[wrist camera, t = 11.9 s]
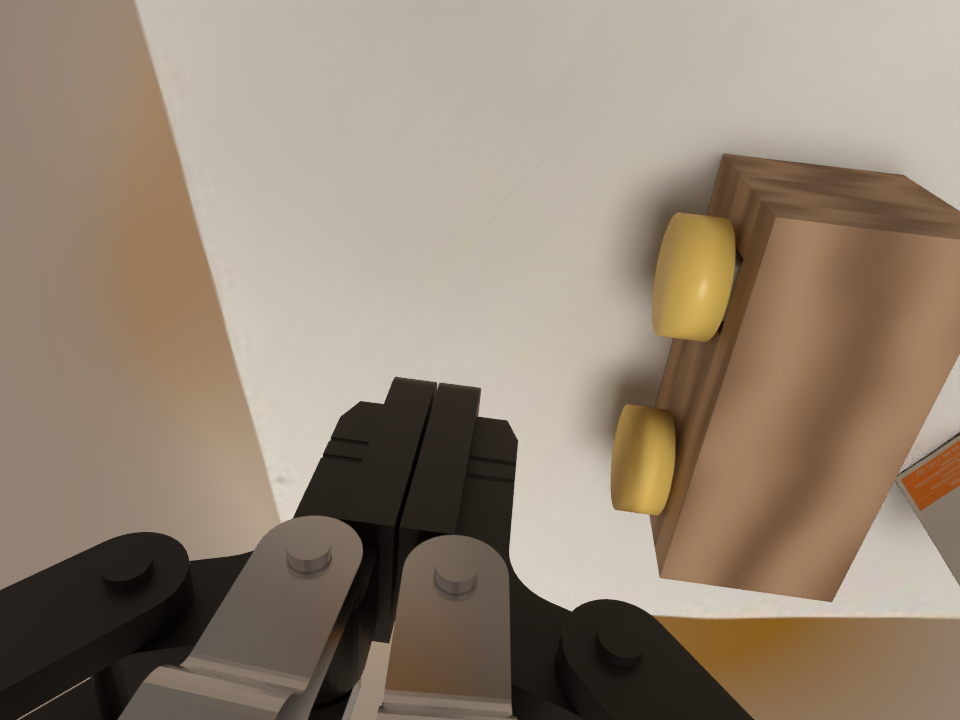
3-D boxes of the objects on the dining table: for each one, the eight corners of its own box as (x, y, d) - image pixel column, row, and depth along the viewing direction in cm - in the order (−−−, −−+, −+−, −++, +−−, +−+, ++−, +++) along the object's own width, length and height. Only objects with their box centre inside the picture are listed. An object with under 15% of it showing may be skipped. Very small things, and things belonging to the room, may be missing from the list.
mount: (600, 455, 51) (610, 571, 41) (671, 147, 39) (707, 208, 30) (780, 479, 50) (831, 602, 41) (903, 175, 39) (1014, 246, 29)
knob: (647, 303, 41) (661, 358, 35) (673, 196, 37) (692, 238, 32) (906, 336, 40) (961, 397, 35) (955, 230, 37) (1024, 279, 31)
